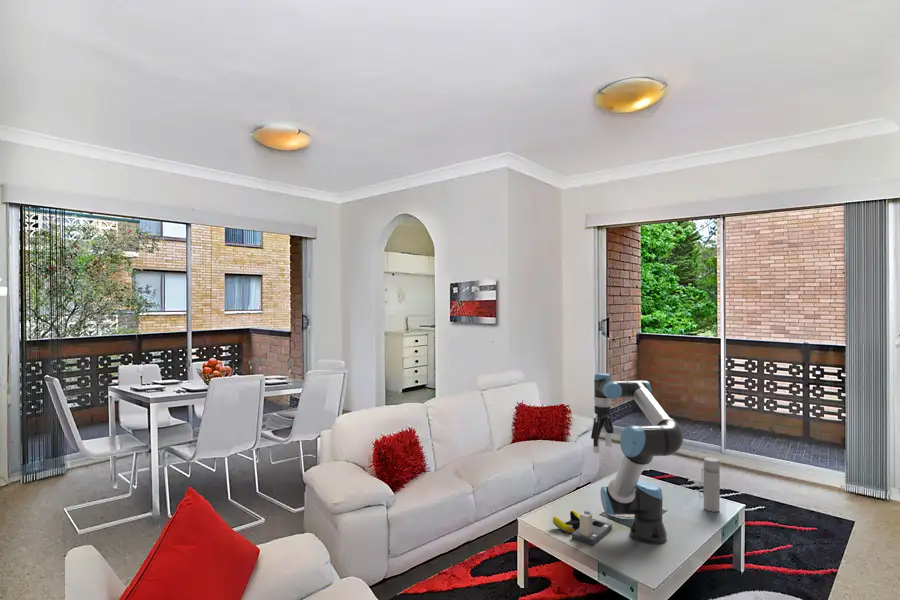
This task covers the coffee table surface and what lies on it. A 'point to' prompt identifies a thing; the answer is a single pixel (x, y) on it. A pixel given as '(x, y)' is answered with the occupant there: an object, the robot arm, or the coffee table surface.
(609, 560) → the coffee table surface
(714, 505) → the water bottle
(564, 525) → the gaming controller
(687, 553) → the coffee table surface
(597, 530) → the panel
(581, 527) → the plug
